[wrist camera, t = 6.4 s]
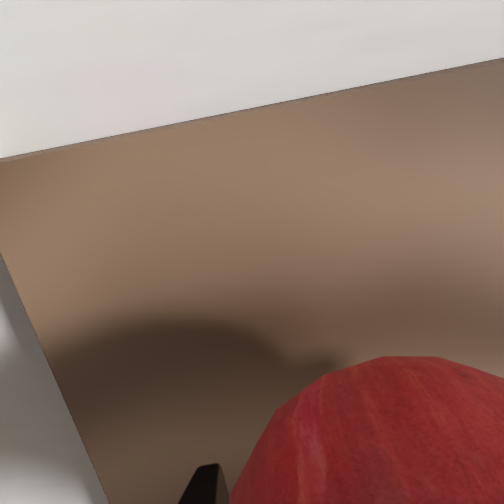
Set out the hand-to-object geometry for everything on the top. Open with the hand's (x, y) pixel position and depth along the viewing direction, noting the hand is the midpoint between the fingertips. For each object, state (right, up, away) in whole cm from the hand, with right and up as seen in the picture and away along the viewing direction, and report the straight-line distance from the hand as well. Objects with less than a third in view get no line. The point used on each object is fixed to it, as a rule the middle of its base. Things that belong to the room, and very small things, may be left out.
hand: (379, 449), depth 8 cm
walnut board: (0, +2, +4) cm, 5 cm away
